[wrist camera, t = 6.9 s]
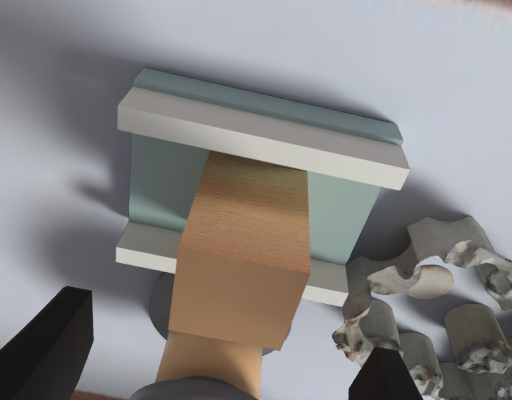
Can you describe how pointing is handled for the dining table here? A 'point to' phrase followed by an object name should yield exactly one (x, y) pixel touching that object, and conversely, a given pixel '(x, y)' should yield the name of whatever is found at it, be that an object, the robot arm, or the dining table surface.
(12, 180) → the dining table surface
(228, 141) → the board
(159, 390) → the spool
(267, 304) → the wooden block
